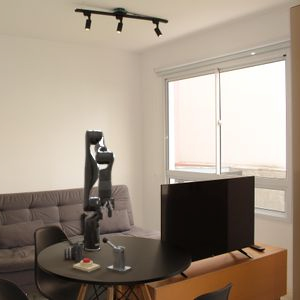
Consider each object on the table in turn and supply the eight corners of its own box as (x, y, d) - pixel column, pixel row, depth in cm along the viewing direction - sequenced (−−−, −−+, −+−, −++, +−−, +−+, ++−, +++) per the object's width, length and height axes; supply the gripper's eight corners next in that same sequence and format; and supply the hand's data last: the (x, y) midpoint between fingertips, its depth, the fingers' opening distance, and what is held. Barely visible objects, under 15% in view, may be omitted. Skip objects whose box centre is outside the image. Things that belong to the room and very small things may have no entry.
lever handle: (100, 241, 209) (102, 236, 208) (103, 240, 211) (105, 235, 210) (118, 255, 201) (120, 250, 200) (121, 254, 203) (123, 249, 203)
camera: (65, 255, 229) (64, 239, 229) (83, 255, 229) (83, 239, 229) (64, 263, 215) (64, 245, 215) (83, 263, 215) (83, 245, 215)
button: (81, 262, 204) (81, 259, 204) (86, 260, 207) (86, 257, 207) (86, 263, 202) (86, 260, 202) (91, 262, 204) (91, 258, 204)
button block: (73, 269, 205) (73, 261, 204) (84, 265, 211) (84, 257, 211) (89, 273, 197) (89, 265, 197) (100, 269, 204) (99, 261, 204)
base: (107, 269, 203) (106, 247, 203) (115, 266, 209) (115, 244, 209) (122, 273, 196) (122, 250, 196) (131, 269, 202) (131, 247, 202)
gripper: (107, 186, 216) (107, 215, 216) (91, 189, 205) (91, 219, 205) (118, 187, 211) (118, 217, 211) (102, 190, 200) (102, 221, 201)
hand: (105, 218), depth 208 cm, fingers open, 7 cm apart
